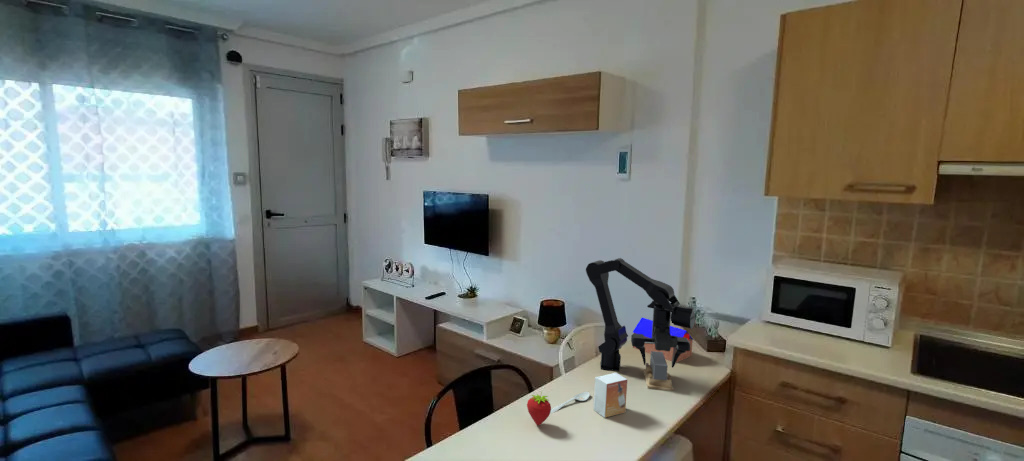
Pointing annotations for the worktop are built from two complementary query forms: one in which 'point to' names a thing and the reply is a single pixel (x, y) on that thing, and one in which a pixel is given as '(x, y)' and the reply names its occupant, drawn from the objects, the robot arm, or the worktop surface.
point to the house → (646, 330)
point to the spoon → (583, 395)
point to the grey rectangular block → (658, 365)
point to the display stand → (656, 380)
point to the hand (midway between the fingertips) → (658, 366)
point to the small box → (610, 394)
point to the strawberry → (539, 408)
